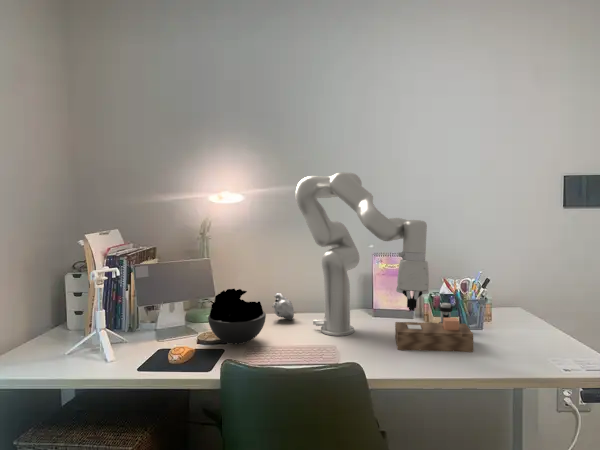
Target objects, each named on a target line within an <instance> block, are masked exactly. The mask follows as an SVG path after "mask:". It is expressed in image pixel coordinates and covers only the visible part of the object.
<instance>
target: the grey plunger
mask: <svg viewBox="0 0 600 450" xmlns="http://www.w3.org/2000/svg"><path fill="white" fill-rule="evenodd" d="M407 329H419V330H422V328H421V326H420V325H407Z"/></svg>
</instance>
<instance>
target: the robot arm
mask: <svg viewBox="0 0 600 450" xmlns="http://www.w3.org/2000/svg"><path fill="white" fill-rule="evenodd" d="M329 198H339V199H340V200H341V201H343V202H344V203H345V204H346V205H347V206H349V208H350V209H352V210H353V211H354V212H355V213H356V215H357V217H358V219H359V220H360V222H361V224H362V225H363V226H364V227H365V228H366V229H367V230H368V231H369V232H370V233H371V234H373V235H374V236H375V237H376V238H378V239H379V240H381V241H383V242H391V241H398V240H402V251H400V252H398V253H397V257H398V258H399V257H400V258H401V259H400V261H399V265H398V270H397V271H398V272H397V281H396V282H397V283H396V284H397V285H396V288H395V289H396V290H395V291H396V292H397V293H400V294H403V296H405V298H406V301H407V302H406V308H408V310H409V312H414V311H415V309H416V308H417V301H418V299H419V298H420V297H421V296H423V295H427V294H429V293H430V292H429V287H430V285H429V284H430V272H429V262H428V261H427V260H426V256H427V255H426V253H427V251H426V249H427V234H428V233H427V231H428V230H427V229H428V226H427V222H426V221H425V220H421V219H406V218H400V217H392V218H389V217H386V215H384V214H383V213H382V212H381V211H380V210H378V208H377V207H376V206H375V205H374V196H373V195H372V193H371V192H370V191H368V190H367V189H366V188H365V187H363V184H362V179H361V178H360V177H359V175H357V174H356V173H354V172H344V171H343V172H336V173H334V174H333V175H326V176H325V175H324V176H320V175H309V176H306V177H304V178H302V179H301V180H300V181H299V182H298V183H297V186H296V189H295V198H294V199H295V201H296V205H297V207H298V210H299V211H300V213H301V215H302V216H303V219H304V220H305V223H306V225H307V228H308V230H309V232H310V234H311V236H312V238H313V240H314V243H316V245H317V246H319V247H321V248H326V247H327V248H328V247H331V248H329V249H328V250H327V251H325V252H324V254H323V255H322V258H321V268H322V269H321V270H322V273H323V284H324V285H323V289H324V290H323V291H324V318H322V319H313V320H312V323H313V324H312V325H314V326H315V327H319V326H320V332H321V333H322V334H324V335H328V336H338V337H340V336H348V335H352V334H353V333H354V332H355V327H354V326H352V325H351V290H350V289H351V287H350V285H351V284H350V279H349V274H348V271H350V270H353V269H355V268H356V267H357V266H358V265H359V263H360V253H359V250H358V248H357V246H356V244H355V242H354V239H353V238H352V235H351V233H350V232H349V230H348V228H347V227H346V226H345V225H344V224H343V223H342V222H341V221H338V220H330V218H329V215H328V214H327V212H326V210H325V208H324V207H323V205H322V204H321V203H320V201H319V200H318V199H329ZM411 292H413V295H412V296H411Z"/></svg>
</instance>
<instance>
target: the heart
mask: <svg viewBox="0 0 600 450" xmlns="http://www.w3.org/2000/svg"><path fill="white" fill-rule="evenodd" d="M273 297H274V298H275V300H274V301H275V302H273V303H272V305H271V307H272V308H273V311H274V314H275V315H276V316H277V317H279V318H283V319H286V320H290V321H292V320H293V319H294V316H295V310H294V306H293V303H292V300H290V299H288V297H286V296H284V295H283V293H281V292H280V293H275V294H274V296H273Z"/></svg>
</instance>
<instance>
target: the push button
mask: <svg viewBox="0 0 600 450" xmlns="http://www.w3.org/2000/svg"><path fill="white" fill-rule="evenodd" d="M437 307H438V308H439V310H438V311H440V320H439V322H438V323H443V318H452V317H451V316H452V315H451V314H452V313H451V312H453V309H454V306H453V305H452V304H451V303H450V302H441V303H440V305H438V306H437Z"/></svg>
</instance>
